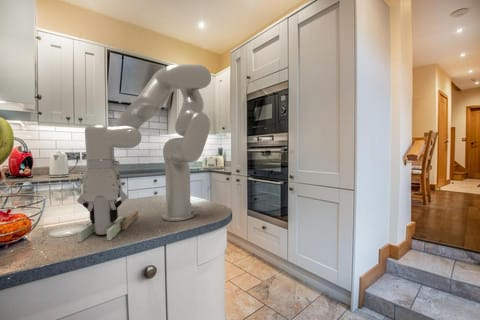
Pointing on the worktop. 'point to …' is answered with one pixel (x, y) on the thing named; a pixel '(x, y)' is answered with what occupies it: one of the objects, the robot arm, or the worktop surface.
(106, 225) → the beverage can
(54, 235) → the ceramic coaster
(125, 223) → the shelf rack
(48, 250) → the worktop surface
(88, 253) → the worktop surface
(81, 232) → the sliding holder
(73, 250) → the worktop surface
